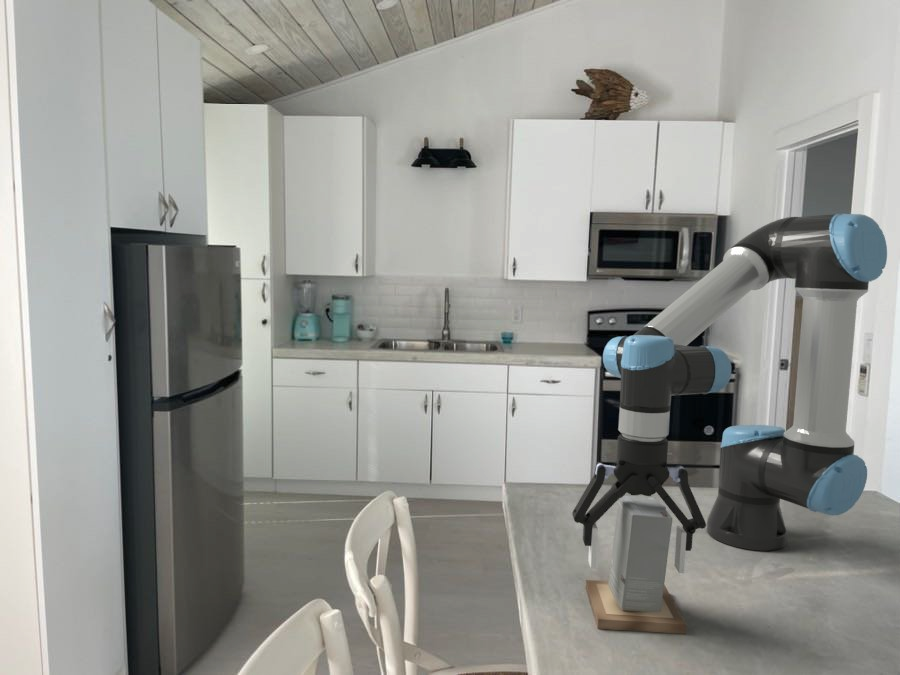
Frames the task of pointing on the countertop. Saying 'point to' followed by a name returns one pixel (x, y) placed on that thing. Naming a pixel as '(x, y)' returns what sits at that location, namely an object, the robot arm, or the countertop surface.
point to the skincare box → (640, 553)
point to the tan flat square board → (632, 612)
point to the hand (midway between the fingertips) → (635, 567)
